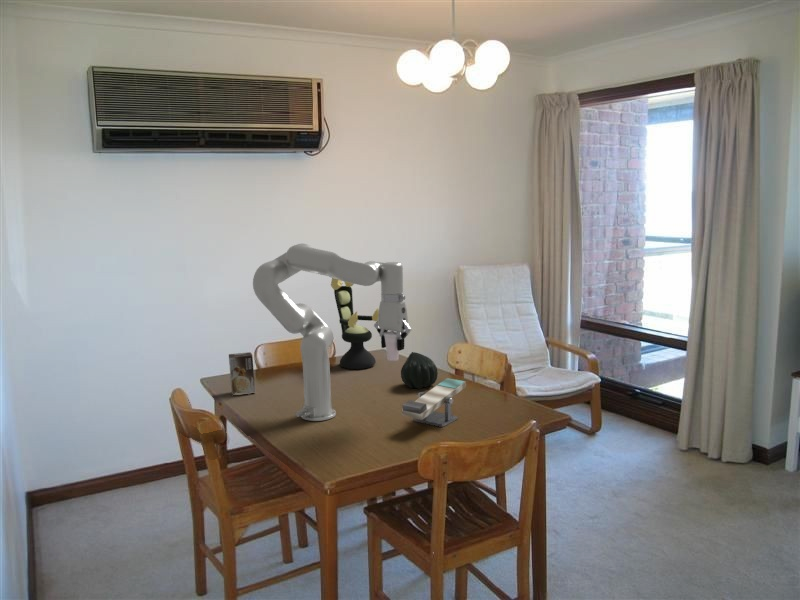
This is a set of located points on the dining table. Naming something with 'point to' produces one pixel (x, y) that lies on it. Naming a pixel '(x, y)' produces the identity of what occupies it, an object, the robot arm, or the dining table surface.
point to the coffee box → (241, 373)
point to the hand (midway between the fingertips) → (392, 348)
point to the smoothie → (391, 345)
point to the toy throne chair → (352, 328)
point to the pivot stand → (439, 414)
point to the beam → (432, 399)
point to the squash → (418, 371)
